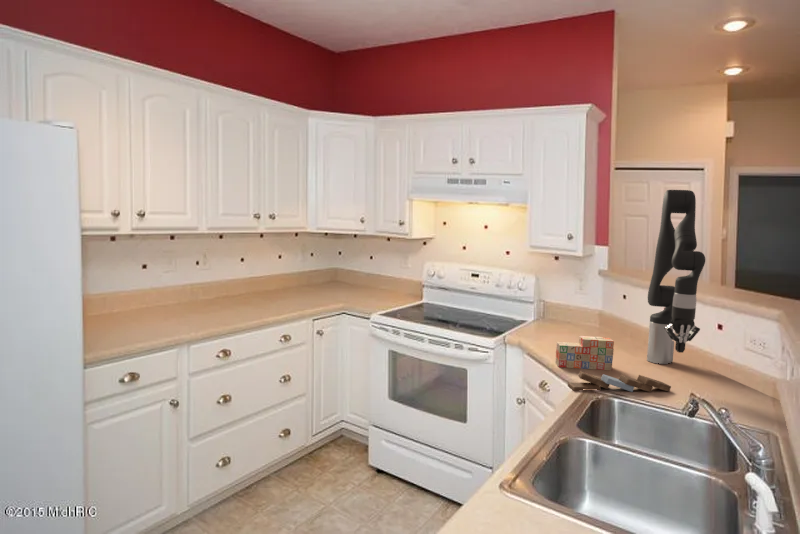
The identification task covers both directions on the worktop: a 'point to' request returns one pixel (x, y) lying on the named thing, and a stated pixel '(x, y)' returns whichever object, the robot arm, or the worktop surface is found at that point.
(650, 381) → the domino
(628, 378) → the domino
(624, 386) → the domino
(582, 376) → the domino
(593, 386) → the domino end
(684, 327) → the robot arm
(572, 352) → the stack of blocks
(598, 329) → the worktop surface
